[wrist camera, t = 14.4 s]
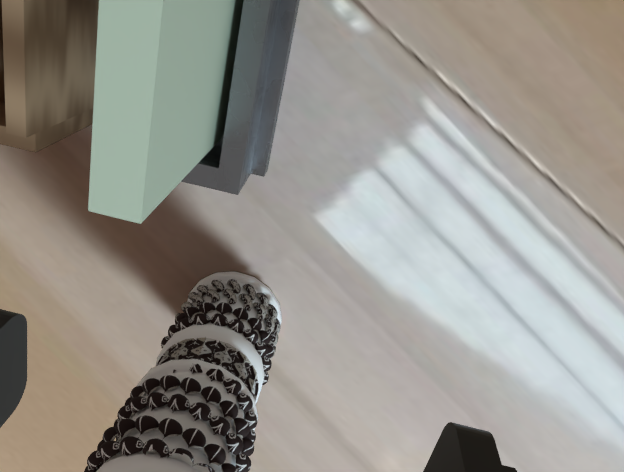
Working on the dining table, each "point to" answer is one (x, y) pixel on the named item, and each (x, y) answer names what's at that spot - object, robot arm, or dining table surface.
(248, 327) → the decorative candle
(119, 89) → the panel
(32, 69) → the rack
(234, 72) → the stand
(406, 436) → the dining table surface
